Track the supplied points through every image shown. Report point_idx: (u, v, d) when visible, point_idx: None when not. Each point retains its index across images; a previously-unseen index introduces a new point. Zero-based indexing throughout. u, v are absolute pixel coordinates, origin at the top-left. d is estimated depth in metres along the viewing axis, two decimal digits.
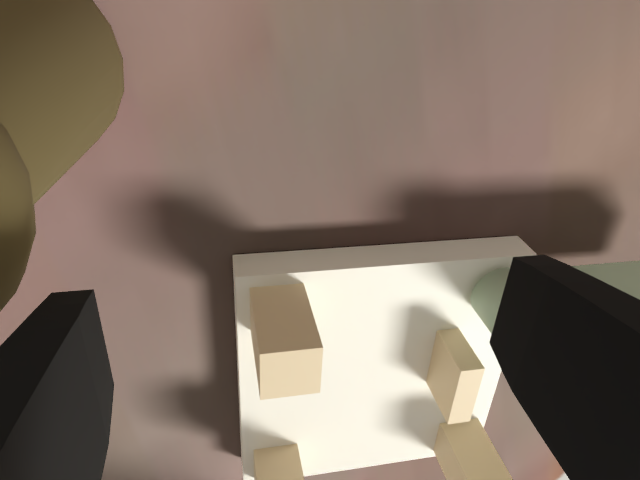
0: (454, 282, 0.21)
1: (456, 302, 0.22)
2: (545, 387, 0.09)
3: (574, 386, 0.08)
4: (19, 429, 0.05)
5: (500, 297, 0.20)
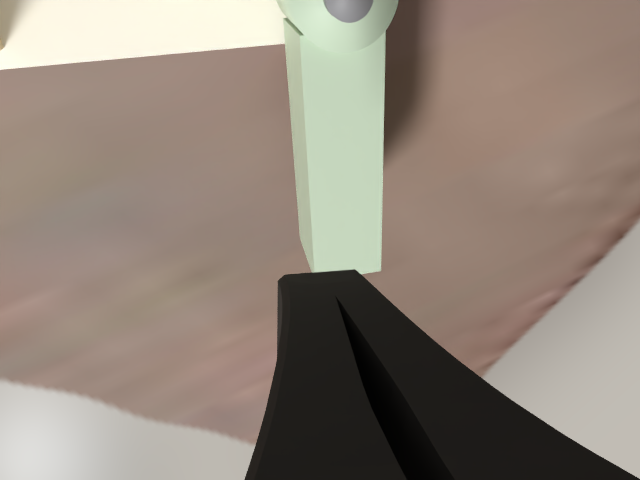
0: None
1: None
2: None
3: None
4: None
5: None
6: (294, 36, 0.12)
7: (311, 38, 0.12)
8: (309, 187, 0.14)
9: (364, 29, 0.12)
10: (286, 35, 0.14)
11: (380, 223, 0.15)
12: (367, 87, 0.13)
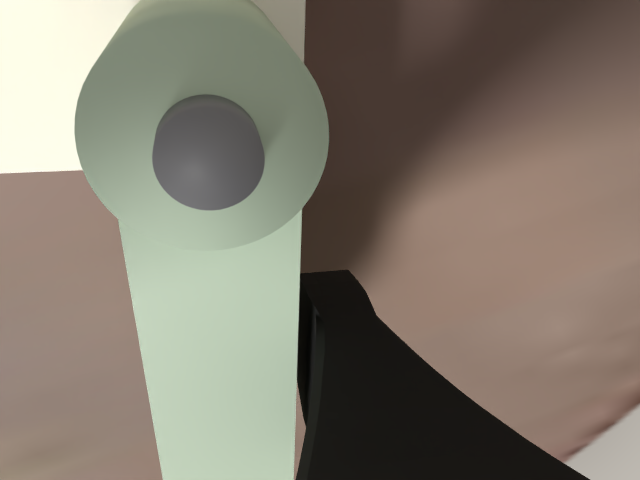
0: None
1: None
2: None
3: None
4: None
5: None
6: None
7: (138, 221, 0.05)
8: (158, 441, 0.08)
9: (252, 210, 0.06)
10: None
11: None
12: (265, 296, 0.07)
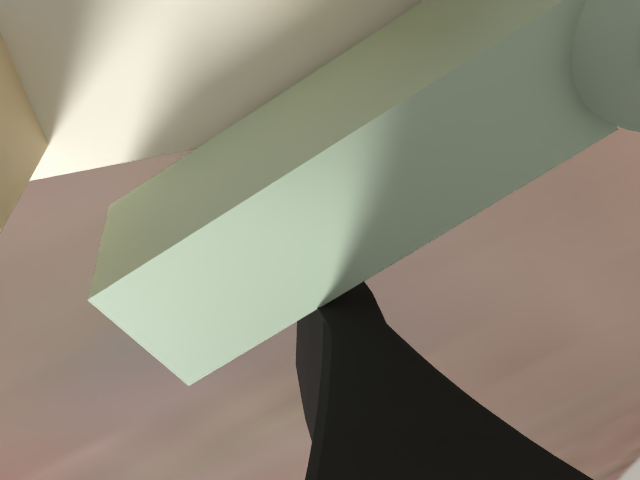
0: None
1: None
2: None
3: None
4: None
5: None
6: None
7: (600, 8, 0.06)
8: (296, 167, 0.06)
9: (632, 95, 0.06)
10: None
11: (283, 326, 0.07)
12: (520, 158, 0.07)
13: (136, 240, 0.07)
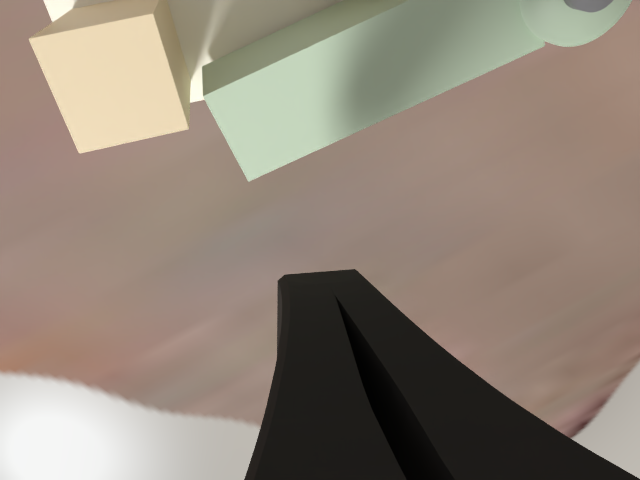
0: None
1: None
2: None
3: None
4: None
5: None
6: None
7: None
8: (346, 29, 0.10)
9: (552, 18, 0.10)
10: None
11: (318, 147, 0.11)
12: (482, 53, 0.11)
13: (232, 72, 0.11)
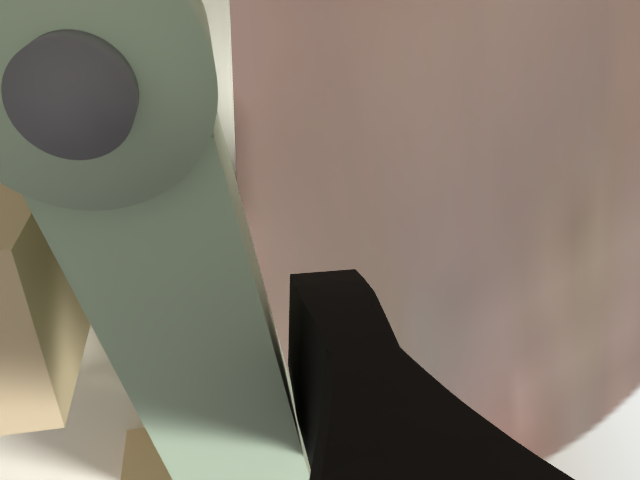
0: None
1: None
2: (308, 419, 0.08)
3: None
4: None
5: None
6: None
7: (35, 188, 0.05)
8: (144, 421, 0.07)
9: (153, 155, 0.05)
10: None
11: (298, 447, 0.08)
12: (207, 251, 0.06)
13: None
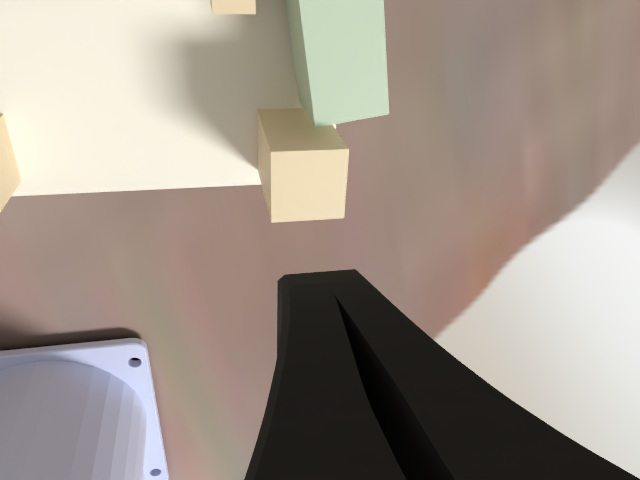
0: None
1: None
2: None
3: None
4: None
5: None
6: None
7: None
8: (299, 2, 0.12)
9: None
10: None
11: (384, 50, 0.13)
12: None
13: (306, 94, 0.14)
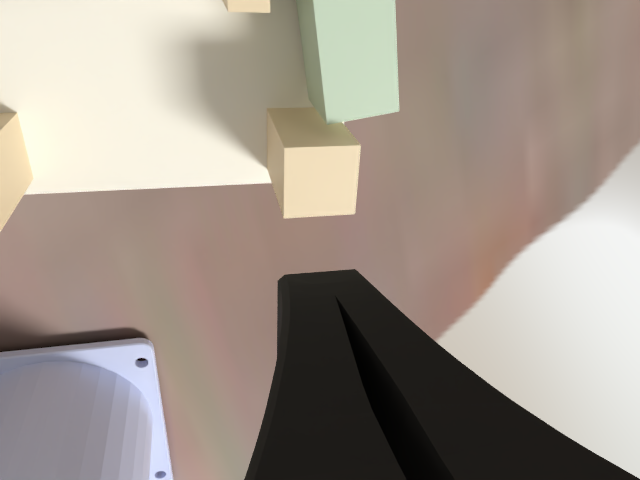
0: None
1: None
2: None
3: None
4: None
5: None
6: None
7: None
8: (313, 0, 0.12)
9: None
10: None
11: (395, 48, 0.13)
12: None
13: (318, 92, 0.14)
